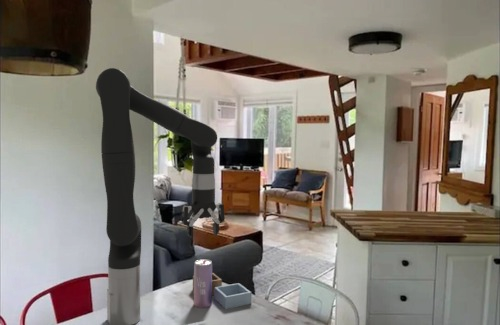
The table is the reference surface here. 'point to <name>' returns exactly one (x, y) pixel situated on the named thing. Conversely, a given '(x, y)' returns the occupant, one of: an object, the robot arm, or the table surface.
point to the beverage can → (203, 283)
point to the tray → (232, 295)
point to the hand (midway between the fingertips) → (203, 236)
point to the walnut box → (213, 282)
